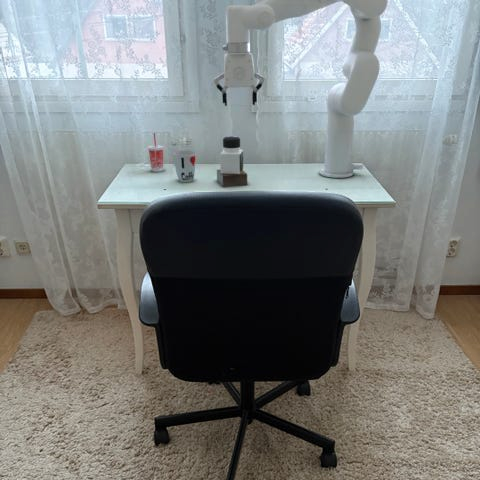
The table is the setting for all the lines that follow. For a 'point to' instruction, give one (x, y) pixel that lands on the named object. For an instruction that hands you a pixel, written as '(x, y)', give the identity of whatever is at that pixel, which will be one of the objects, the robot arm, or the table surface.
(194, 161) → the cup
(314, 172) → the table surface
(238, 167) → the medicine bottle
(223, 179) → the walnut block
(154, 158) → the beverage cup
